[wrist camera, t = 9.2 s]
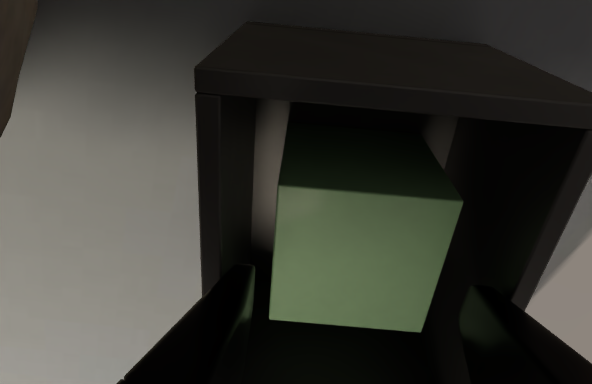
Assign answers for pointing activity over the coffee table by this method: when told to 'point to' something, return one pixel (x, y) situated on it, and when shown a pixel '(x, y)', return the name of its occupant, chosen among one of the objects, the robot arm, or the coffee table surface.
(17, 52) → the bowl
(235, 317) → the robot arm
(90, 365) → the coffee table surface
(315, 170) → the block
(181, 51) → the coffee table surface
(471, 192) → the black open box
